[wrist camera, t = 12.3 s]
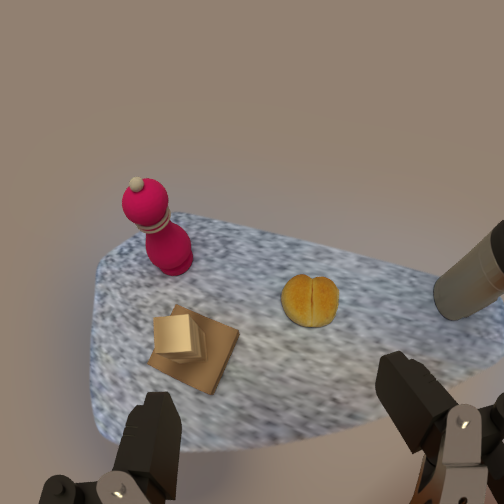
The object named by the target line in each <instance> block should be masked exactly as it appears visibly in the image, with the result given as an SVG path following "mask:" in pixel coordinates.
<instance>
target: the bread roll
mask: <svg viewBox="0 0 504 504" xmlns="http://www.w3.org/2000/svg"><path fill="white" fill-rule="evenodd" d="M338 301H339V289H337V287H336V285H335V284H334V282H333V281H331V280H330V279H328V278H326V277H316V278H313V279H312V278H310V277H309V276H307V275H304V274H300V275H296V276H295V277H293V278H292V279H290V280H289V281H288V282H287V284H286V285H285V287H284V289H283V291H282V295H281V302H282V306H283V308H284V311H285V313H286V315H287V316H288V317H289V318H290V319H291V320H292V321H293V322H295V323H297V324H299V325H301V326H304V327H321V326H325V325H327V324H329V323H331V322H332V320H333V319H334V317H335V316H336V311H337V308H338Z"/></svg>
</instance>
